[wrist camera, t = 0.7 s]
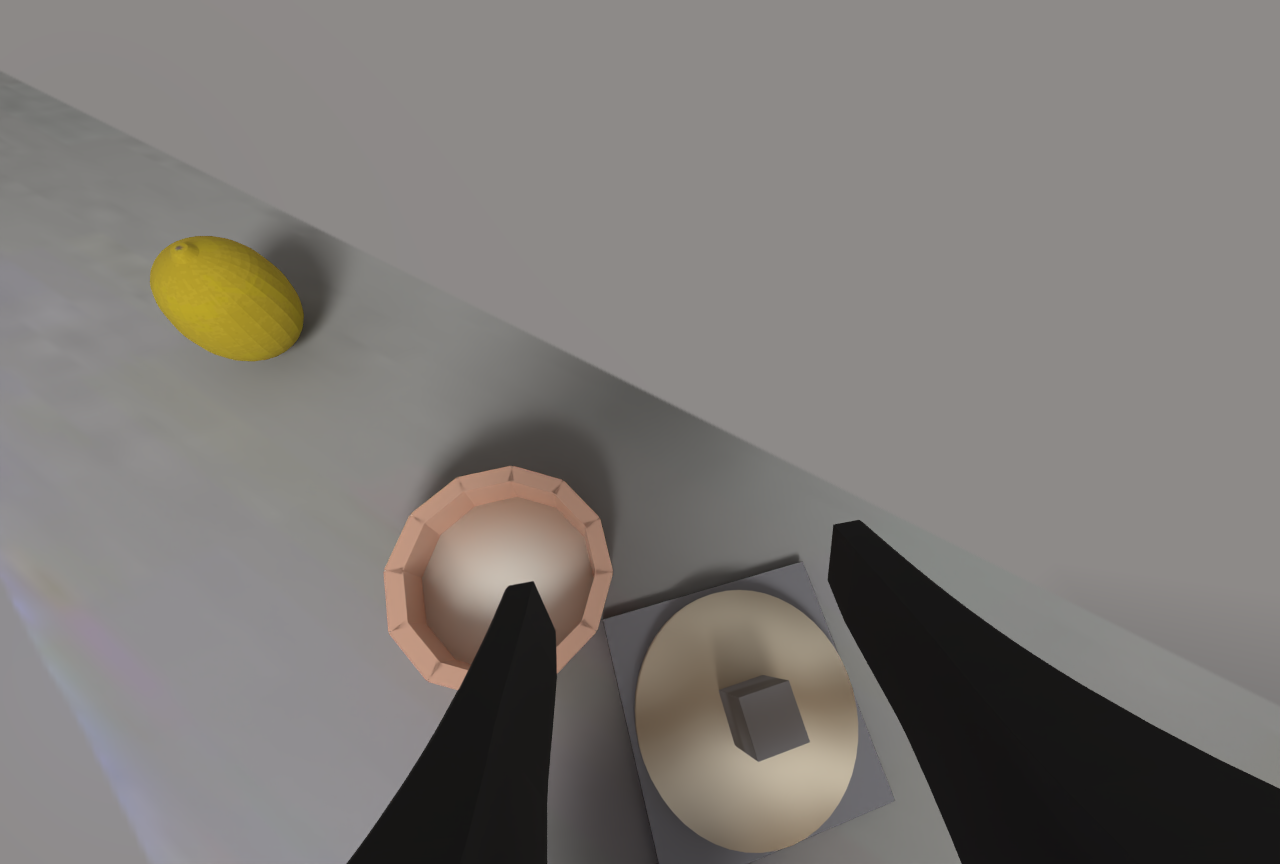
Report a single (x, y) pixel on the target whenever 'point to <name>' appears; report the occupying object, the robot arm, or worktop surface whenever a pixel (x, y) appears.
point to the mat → (629, 635)
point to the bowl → (493, 567)
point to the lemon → (226, 298)
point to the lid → (746, 721)
